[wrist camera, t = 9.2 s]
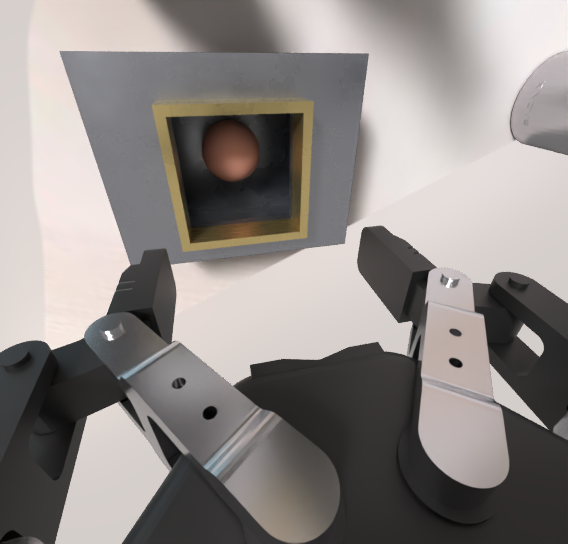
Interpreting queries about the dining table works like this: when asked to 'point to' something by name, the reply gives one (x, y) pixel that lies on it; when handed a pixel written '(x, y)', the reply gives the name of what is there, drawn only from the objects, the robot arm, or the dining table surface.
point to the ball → (230, 150)
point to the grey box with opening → (188, 147)
